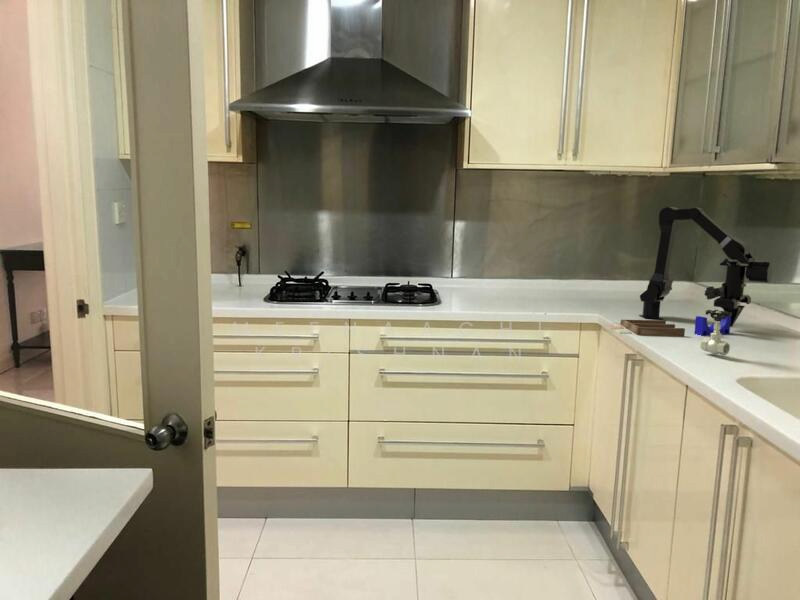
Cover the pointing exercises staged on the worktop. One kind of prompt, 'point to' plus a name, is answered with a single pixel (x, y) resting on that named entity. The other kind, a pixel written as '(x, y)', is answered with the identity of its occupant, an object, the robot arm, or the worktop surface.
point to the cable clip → (704, 329)
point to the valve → (716, 335)
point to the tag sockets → (649, 328)
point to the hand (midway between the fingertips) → (730, 326)
